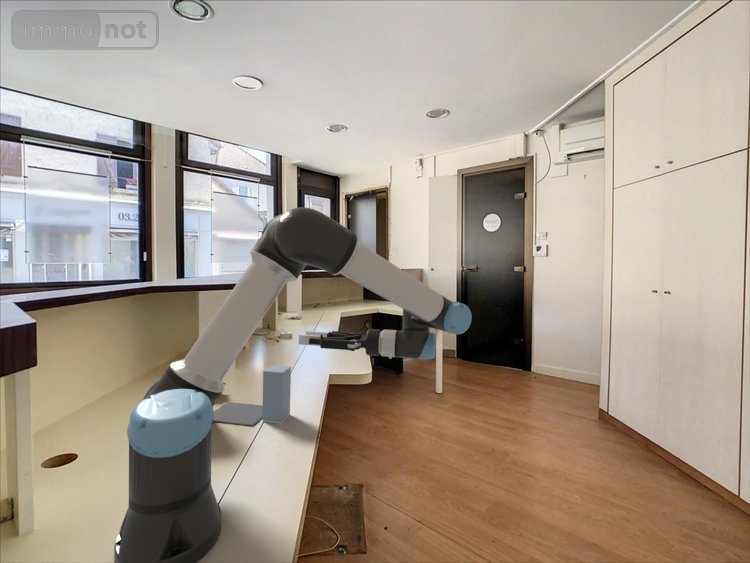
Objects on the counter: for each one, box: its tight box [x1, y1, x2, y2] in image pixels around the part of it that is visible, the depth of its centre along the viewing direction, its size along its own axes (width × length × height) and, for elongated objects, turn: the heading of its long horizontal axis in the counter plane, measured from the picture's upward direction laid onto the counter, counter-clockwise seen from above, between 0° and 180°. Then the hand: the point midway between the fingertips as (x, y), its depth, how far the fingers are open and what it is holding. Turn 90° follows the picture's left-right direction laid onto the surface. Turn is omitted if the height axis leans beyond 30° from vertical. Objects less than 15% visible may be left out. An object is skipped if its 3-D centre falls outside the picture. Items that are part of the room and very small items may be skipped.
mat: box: [212, 401, 263, 427], centre depth 104 cm, size 13×16×1 cm
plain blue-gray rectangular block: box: [261, 365, 292, 424], centre depth 102 cm, size 6×6×15 cm
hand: (302, 337), depth 100 cm, fingers open, 5 cm apart
